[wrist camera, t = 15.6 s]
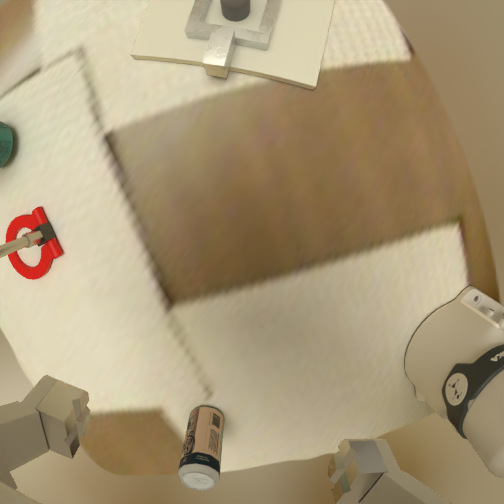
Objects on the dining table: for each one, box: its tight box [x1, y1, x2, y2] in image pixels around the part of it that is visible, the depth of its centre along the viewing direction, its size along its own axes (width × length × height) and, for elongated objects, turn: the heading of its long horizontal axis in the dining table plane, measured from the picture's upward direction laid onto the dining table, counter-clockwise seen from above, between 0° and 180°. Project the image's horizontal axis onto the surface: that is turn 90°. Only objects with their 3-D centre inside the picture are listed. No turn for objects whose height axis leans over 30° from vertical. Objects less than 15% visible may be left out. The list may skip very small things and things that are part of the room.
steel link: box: [184, 0, 280, 78], centre depth 26 cm, size 12×8×4 cm
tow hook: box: [0, 207, 63, 280], centre depth 29 cm, size 8×13×9 cm
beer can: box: [178, 407, 224, 490], centre depth 35 cm, size 5×5×12 cm
